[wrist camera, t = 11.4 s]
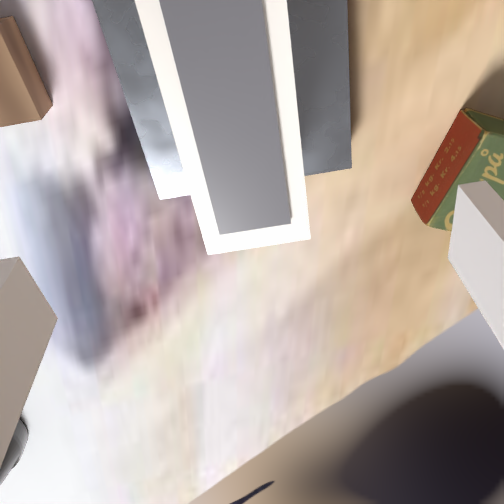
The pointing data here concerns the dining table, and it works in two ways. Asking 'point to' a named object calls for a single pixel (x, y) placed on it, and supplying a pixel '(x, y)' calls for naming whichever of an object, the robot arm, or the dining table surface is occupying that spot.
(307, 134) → the dark grey plate
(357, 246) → the dining table surface
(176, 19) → the white-framed grey panel
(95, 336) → the dining table surface
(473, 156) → the carton
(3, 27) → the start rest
